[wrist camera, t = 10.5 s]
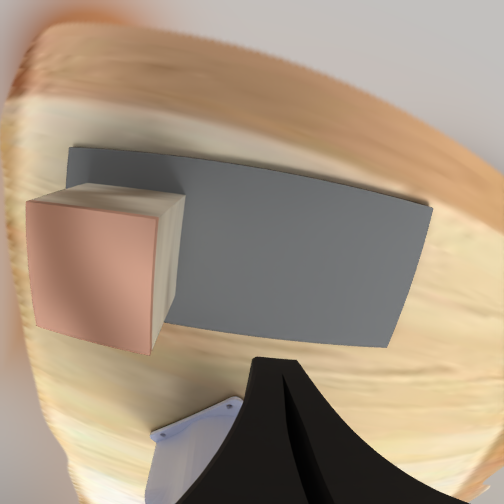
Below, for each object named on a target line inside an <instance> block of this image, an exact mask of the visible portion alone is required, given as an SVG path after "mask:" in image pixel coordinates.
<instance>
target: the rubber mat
mask: <svg viewBox="0 0 504 504" xmlns="http://www.w3.org/2000/svg"><path fill="white" fill-rule="evenodd" d="M85 183H94V184H103V185H112V186H120V187H129V188H137V189H145V190H153V191H160V192H168V193H175V194H182V195H186V197H185V205H184V213H183V221H182V230H181V239H180V248H179V258H178V268H177V280H176V292H175V297H174V300H173V302H172V304H171V306H170V309H169V311H168V313H167V316H166V318H165V320H164V322H165V323H170V324H176V325H182V326H188V327H194V328H200V329H206V330H212V331H219V332H226V333H233V334H240V335H248V336H255V337H263V338H272V339H281V340H290V341H300V342H310V343H321V344H333V345H347V346H362V347H381V348H387V346H388V344H389V341H390V339H391V336H392V334H393V332H394V329H395V327H396V324H397V322H398V319H399V316H400V314H401V311H402V308H403V306H404V303H405V300H406V298H407V295H408V292H409V289H410V286H411V283H412V280H413V277H414V274H415V271H416V268H417V265H418V262H419V259H420V255H421V252H422V249H423V245H424V242H425V238H426V235H427V231H428V227H429V223H430V220H431V216H432V212H433V208H432V207H429V206H426V205H422V204H418V203H415V202H411V201H408V200H404V199H400V198H396V197H393V196H389V195H385V194H381V193H377V192H373V191H369V190H365V189H360V188H356V187H352V186H347V185H343V184H339V183H334V182H330V181H325V180H320V179H315V178H311V177H306V176H301V175H295V174H290V173H285V172H280V171H274V170H269V169H263V168H257V167H251V166H245V165H239V164H232V163H226V162H219V161H212V160H205V159H198V158H190V157H182V156H174V155H165V154H156V153H146V152H135V151H124V150H112V149H97V148H81V147H69V154H68V165H67V178H66V189H67V188H71V187H74V186H77V185H81V184H85Z"/></svg>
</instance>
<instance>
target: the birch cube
mask: <svg viewBox="0 0 504 504" xmlns="http://www.w3.org/2000/svg"><path fill="white" fill-rule="evenodd" d="M185 197H186V195H182V194H175V193H168V192H160V191H153V190H145V189H137V188H129V187H120V186H112V185H103V184H94V183H85V184H81V185H77V186H74V187H71V188H67V189H64V190H60V191H57V192H54V193H51V194H47V195H44V196H41V197H38V198H35V199H32V200H29V201H26V237H27V254H28V267H29V277H30V286H31V294H32V301H33V308H34V314H35V320H36V326H38V327H41V328H44V329H47V330H51V331H54V332H57V333H61V334H64V335H68V336H71V337H75V338H78V339H82V340H86V341H89V342H93V343H97V344H101V345H105V346H109V347H113V348H117V349H122V350H126V351H130V352H135V353H140V354H144V355H149V356H150V354H151V351H152V349H153V347H154V344H155V342H156V339H157V337H158V335H159V332H160V330H161V327H162V325H163V323H164V320H165V318H166V316H167V313H168V311H169V309H170V306H171V304H172V302H173V300H174V297H175V292H176V280H177V268H178V258H179V248H180V239H181V230H182V221H183V213H184V205H185Z"/></svg>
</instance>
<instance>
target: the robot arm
mask: <svg viewBox="0 0 504 504" xmlns="http://www.w3.org/2000/svg"><path fill="white" fill-rule="evenodd" d="M229 404H230V405H229ZM150 438H151V439H152V440H153V441H155V442H156V448H155V452H154V456H153V460H152V464H151V468H150V472H149V477H148V481H147V485H146V490H145V504H469V503H467V502H464V501H461V500H459V499H456V498H454V497H451V496H449V495H446V494H444V493H441V492H439V491H437V490H435V489H433V488H431V487H429V486H427V485H425V484H424V483H422V482H420V481H418V480H416V479H415V478H413V477H411V476H410V475H408V474H406V473H405V472H403V471H402V470H400V469H399V468H398V467H396V466H395V465H393V464H392V463H390V462H389V461H388V460H386V459H385V458H384V457H382V456H381V455H380V454H378V453H377V452H376V451H375V450H374V449H373V448H371V447H370V446H369V445H368V444H367V443H366V442H365V441H363V440H362V439H361V438H360V437H359V436H358V435H357V434H356V433H355V432H354V431H353V430H352V429H351V428H350V427H349V426H348V425H347V424H346V423H345V422H344V421H343V420H342V418H341V417H340V416H339V415H338V414H337V413H336V412H335V410H334V409H333V408H332V407H331V405H330V404H329V403H328V402H327V400H326V399H325V398H324V397H323V395H322V394H321V393H320V392H319V390H318V389H317V388H316V386H315V385H314V383H313V382H312V381H311V379H310V378H309V377H308V375H307V374H306V372H305V371H304V369H303V368H302V367H301V365H300V364H299V363H298V361H297V360H288V359H276V358H265V357H255V358H253V359H252V363H251V368H250V373H249V378H248V383H247V388H246V393H245V398H244V401H243V400H242V399H241V398H239V397H236V396H233V397H230V398H228V399H226V400H224V401H222V402H220V403H218V404H216V405H214V406H211V407H209V408H207V409H205V410H203V411H200V412H198V413H196V414H194V415H192V416H189V417H187V418H185V419H182V420H180V421H178V422H175V423H173V424H170V425H168V426H166V427H163V428H161V429H158V430H156V431H153V432H151V434H150Z"/></svg>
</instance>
